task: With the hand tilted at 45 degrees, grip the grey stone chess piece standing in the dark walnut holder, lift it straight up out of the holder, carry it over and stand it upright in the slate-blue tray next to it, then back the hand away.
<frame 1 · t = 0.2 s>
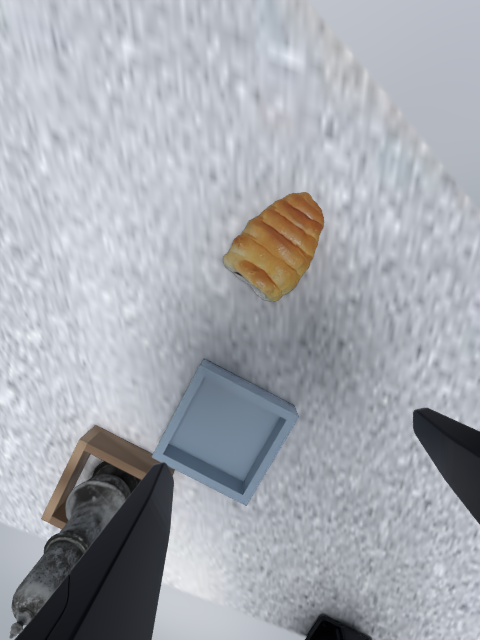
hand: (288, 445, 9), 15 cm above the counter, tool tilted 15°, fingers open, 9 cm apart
grey stone chess piece: (118, 480, 27), resting in walnut holder
pastry: (271, 252, 24), on the counter
slate tray: (225, 424, 25), on the counter
walnut holder: (117, 482, 26), on the counter
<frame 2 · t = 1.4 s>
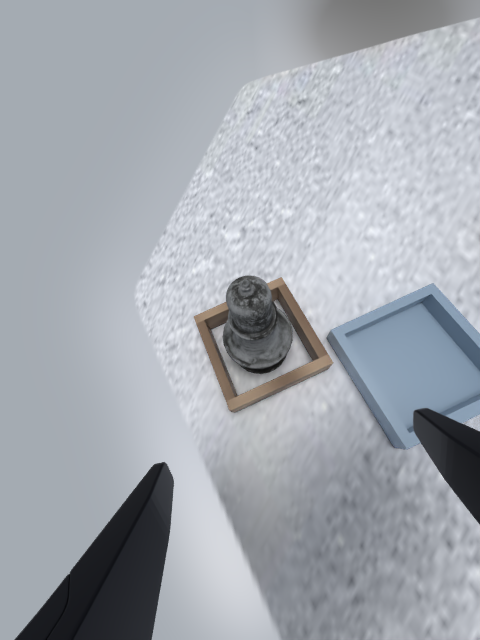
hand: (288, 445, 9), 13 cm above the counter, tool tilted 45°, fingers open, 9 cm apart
grey stone chess piece: (260, 346, 25), resting in walnut holder
slate tray: (408, 363, 22), on the counter
walnut holder: (259, 346, 25), on the counter
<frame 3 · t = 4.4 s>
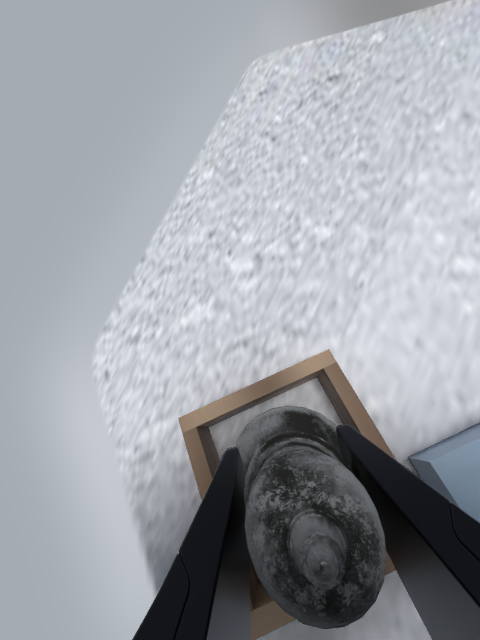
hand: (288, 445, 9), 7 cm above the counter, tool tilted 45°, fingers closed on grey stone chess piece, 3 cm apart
grey stone chess piece: (291, 465, 15), resting in walnut holder, touching gripper
walnut holder: (291, 465, 14), on the counter
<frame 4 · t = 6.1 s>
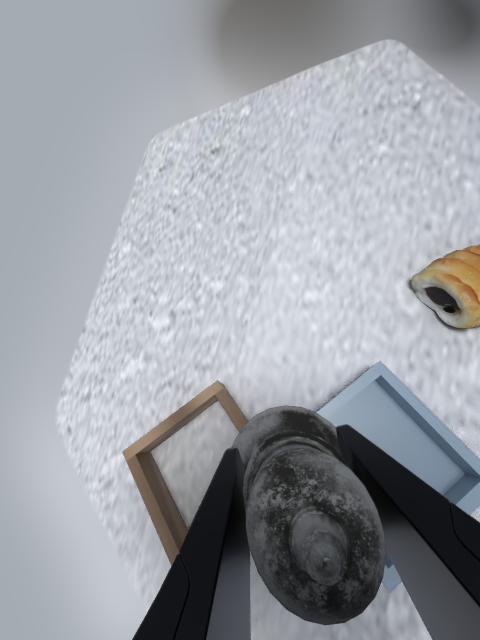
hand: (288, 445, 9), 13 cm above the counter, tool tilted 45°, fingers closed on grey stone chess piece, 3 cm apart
grey stone chess piece: (287, 464, 15), point 6 cm above the counter, touching gripper
pastry: (457, 290, 24), on the counter
slate tray: (373, 456, 20), on the counter
walnut holder: (209, 464, 21), on the counter
when the fingers open (8 cm above the counter, at t = 8.2 s): grey stone chess piece stays where it is, resting on slate tray.
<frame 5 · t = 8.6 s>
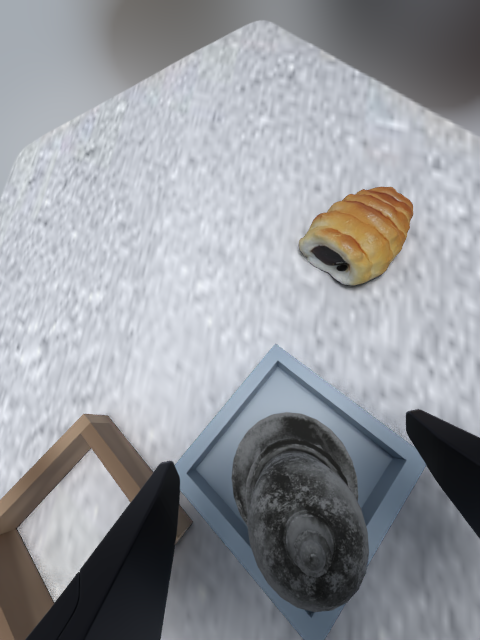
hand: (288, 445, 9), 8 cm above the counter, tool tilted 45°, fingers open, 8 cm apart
grey stone chess piece: (289, 467, 15), resting on slate tray
pastry: (350, 246, 22), on the counter
slate tray: (290, 462, 16), on the counter
walnut holder: (92, 525, 16), on the counter
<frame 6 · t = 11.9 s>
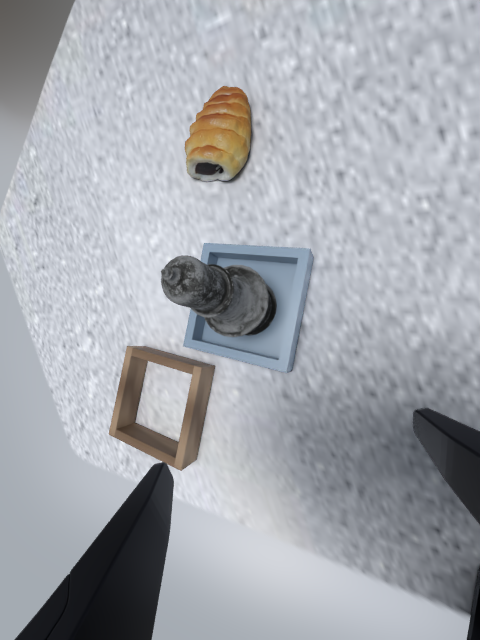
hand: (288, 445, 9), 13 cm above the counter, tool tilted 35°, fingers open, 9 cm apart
grey stone chess piece: (249, 307, 24), resting on slate tray
pastry: (224, 150, 28), on the counter
slate tray: (250, 305, 24), on the counter
walnut holder: (168, 398, 27), on the counter
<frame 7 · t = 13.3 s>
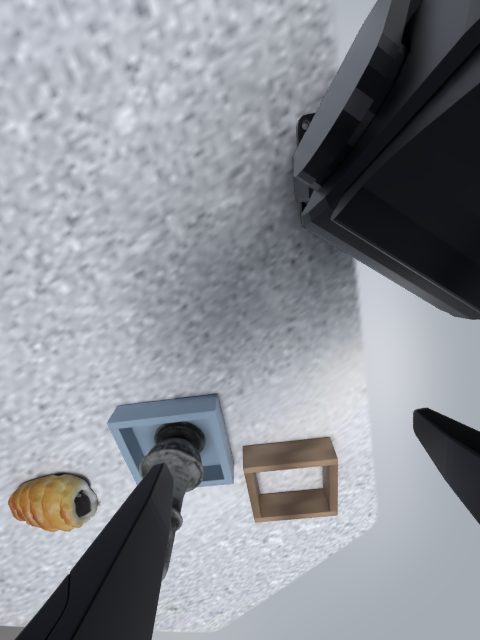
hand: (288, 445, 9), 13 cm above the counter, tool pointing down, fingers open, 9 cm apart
grey stone chess piece: (180, 438, 26), resting on slate tray
pastry: (65, 488, 31), on the counter
slate tray: (179, 436, 27), on the counter
walnut holder: (288, 470, 29), on the counter
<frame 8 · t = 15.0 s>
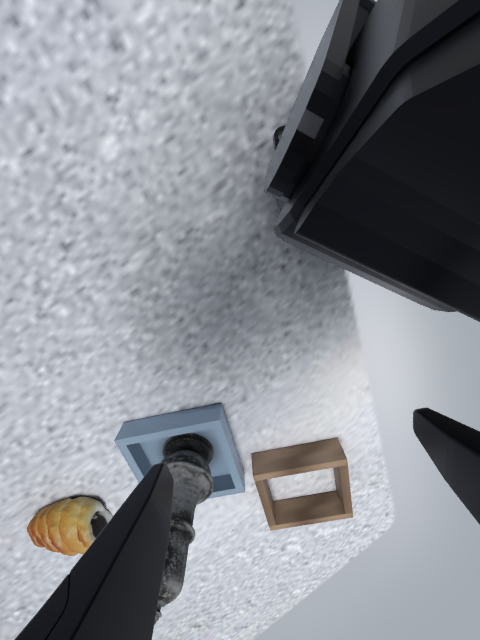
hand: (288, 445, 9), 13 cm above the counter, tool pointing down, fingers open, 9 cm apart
grey stone chess piece: (188, 450, 27), resting on slate tray
pastry: (81, 511, 31), on the counter
slate tray: (187, 448, 27), on the counter
walnut holder: (300, 474, 29), on the counter
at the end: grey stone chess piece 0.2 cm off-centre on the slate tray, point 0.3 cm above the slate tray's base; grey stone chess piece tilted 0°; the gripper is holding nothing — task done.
